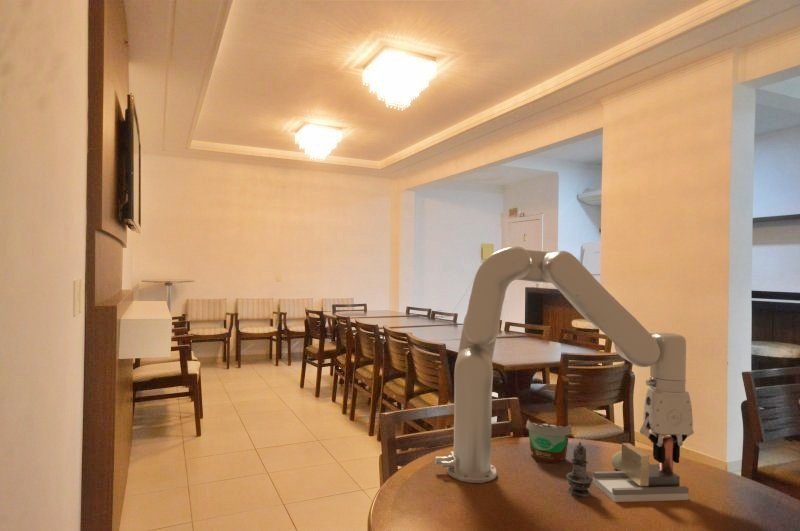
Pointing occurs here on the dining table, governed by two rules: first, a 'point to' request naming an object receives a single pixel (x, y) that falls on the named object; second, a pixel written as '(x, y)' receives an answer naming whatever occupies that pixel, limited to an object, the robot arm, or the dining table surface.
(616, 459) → the sea urchin shell
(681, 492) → the press bed
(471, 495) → the dining table surface
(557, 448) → the food container
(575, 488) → the grey figurine
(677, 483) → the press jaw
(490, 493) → the dining table surface
